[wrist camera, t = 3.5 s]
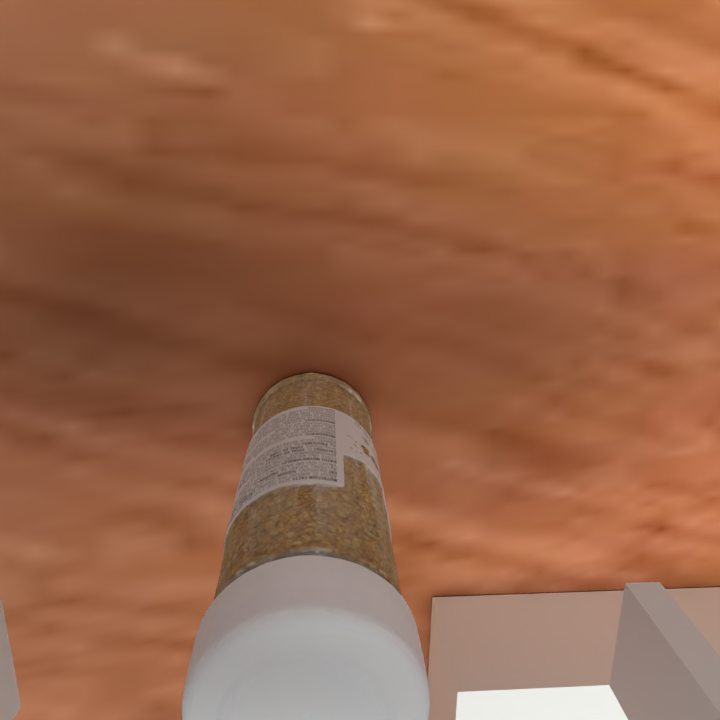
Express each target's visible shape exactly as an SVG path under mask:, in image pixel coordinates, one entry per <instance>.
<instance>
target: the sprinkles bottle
mask: <svg viewBox="0 0 720 720" xmlns="http://www.w3.org/2000/svg"><path fill="white" fill-rule="evenodd" d="M252 436H253V437H252V439H251V441H250V444H249V446H248V449H247V452H246V456H245V460H244V464H243V468H242V472H241V476H240V480H239V484H238V488H237V492H236V496H235V500H234V504H233V508H232V512H231V517H230V521H229V525H228V529H227V533H226V537H225V542H224V552H223V561H222V565H221V570H220V576H219V580H218V585H217V589H216V593H215V597H214V600H213V602H212V604H211V605H210V606H209V608H208V609H207V611H206V613H205V615H204V617H203V619H202V621H201V623H200V626H199V629H198V632H197V635H196V639H195V643H194V647H193V650H192V654H191V658H190V663H189V668H188V673H187V678H186V683H185V688H184V694H183V701H182V720H428V716H429V708H430V692H429V685H428V678H427V673H426V668H425V662H424V657H423V652H422V648H421V643H420V639H419V635H418V630H417V626H416V622H415V620H414V617H413V614H412V612H411V610H410V608H409V607H408V605H407V603H406V602H405V600H404V598H403V597H402V595H401V591H400V587H399V579H398V574H397V571H396V565H395V558H394V553H393V548H392V543H391V528H390V521H389V516H388V511H387V505H386V500H385V495H384V490H383V485H382V479H381V475H380V469H379V464H378V459H377V454H376V450H375V447H374V445H373V442H372V440H371V436H372V424H371V417H370V414H369V411H368V409H367V406H366V404H365V403H364V401H363V399H362V398H361V396H360V395H359V393H358V392H356V391H355V390H354V389H353V388H352V387H351V386H349V385H348V384H347V383H345V382H343V381H341V380H338V379H336V378H334V377H332V376H327V375H324V374H318V373H311V372H310V373H305V374H301V375H295V376H292V377H289V378H286V379H284V380H281V381H280V382H278V383H277V384H276V385H274V386H273V387H272V388H270V389H269V390H268V391H267V393H266V394H265V395H264V396H263V398H262V399H261V400H260V402H259V404H258V406H257V408H256V410H255V413H254V416H253V422H252Z"/></svg>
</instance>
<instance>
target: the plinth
mask: <svg viewBox="0 0 720 720" xmlns="http://www.w3.org/2000/svg"><path fill="white" fill-rule="evenodd" d="M666 590H667V592H668V593H669V594H670V595H671V597H672V598H673V599H674V600H675V602H676V603H677V604H678V605H679V607H680V608H681V609H682V610H683V611H684V613H685V614H686V615H687V616H688V618H689V619H690V620H691V621H692V623H693V624H694V625H695V626H696V628H697V629H698V630H699V631H700V632H701V634H702V635H703V636H704V637H705V639H706V640H707V641H708V642H709V644H710V645H711V646H712V647H713V649H714V650H715V651H716V652H717V653H718V655H719V656H720V587H707V588H679V589H666ZM623 594H624V590H623V591H594V592H566V593H538V594H510V595H482V596H454V597H432V611H431V630H430V648H429V666H428V685H429V692H430V708H429V716H428V720H628V718H627V717H626V715H625V713H624V711H623V709H622V708H621V706H620V704H619V702H618V700H617V699H616V697H615V695H614V693H613V691H612V689H611V688H610V686H609V684H610V677H611V671H612V665H613V658H614V652H615V645H616V639H617V633H618V626H619V620H620V613H621V607H622V600H623Z"/></svg>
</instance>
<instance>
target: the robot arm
mask: <svg viewBox="0 0 720 720" xmlns="http://www.w3.org/2000/svg"><path fill="white" fill-rule="evenodd" d="M609 686H610V688H611V689H612V691H613V693H614V695H615V697H616V699H617V700H618V702H619V704H620V706H621V708H622V709H623V711H624V713H625V715H626V717H627V718H628V720H720V656H719V655H718V653H717V652H716V651H715V650H714V649H713V647H712V646H711V645H710V644H709V642H708V641H707V640H706V639H705V637H704V636H703V635H702V634H701V632H700V631H699V630H698V629H697V628H696V626H695V625H694V624H693V623H692V621H691V620H690V619H689V618H688V616H687V615H686V614H685V613H684V611H683V610H682V609H681V608H680V607H679V605H678V604H677V603H676V602H675V600H674V599H673V598H672V597H671V595H670V594H669V593H668V592H667V590H666V589H665V588H664V587H663V586H662V584H661V583H660V582H637V583H625V588H624V594H623V600H622V607H621V613H620V620H619V626H618V633H617V639H616V645H615V652H614V658H613V665H612V671H611V677H610V684H609ZM20 707H21V702H20V697H19V691H18V686H17V680H16V675H15V670H14V664H13V659H12V653H11V648H10V642H9V637H8V631H7V626H6V620H5V615H4V609H3V604H2V599H0V720H14V718H15V716H16V715H17V713H18V711H19V709H20Z"/></svg>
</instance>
